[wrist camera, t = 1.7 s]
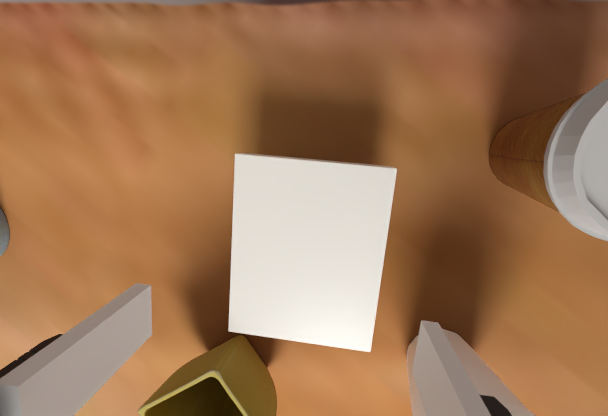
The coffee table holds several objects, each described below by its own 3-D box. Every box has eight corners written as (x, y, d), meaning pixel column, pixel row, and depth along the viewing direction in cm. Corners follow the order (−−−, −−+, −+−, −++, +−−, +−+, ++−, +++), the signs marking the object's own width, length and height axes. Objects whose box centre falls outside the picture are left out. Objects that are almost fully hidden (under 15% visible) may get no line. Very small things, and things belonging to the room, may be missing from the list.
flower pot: (184, 345, 35) (133, 412, 26) (246, 310, 33) (214, 369, 25) (228, 405, 36) (193, 489, 27) (291, 374, 34) (275, 453, 26)
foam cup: (398, 308, 31) (438, 419, 19) (494, 320, 31) (604, 445, 18) (386, 389, 33) (414, 538, 21) (476, 402, 33) (563, 567, 20)
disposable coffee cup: (610, 121, 26) (831, 103, 14) (547, 222, 28) (694, 278, 17) (504, 77, 26) (635, 25, 15) (449, 181, 28) (526, 207, 17)
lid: (391, 166, 25) (397, 168, 22) (367, 333, 28) (370, 352, 26) (244, 152, 26) (235, 153, 24) (237, 315, 29) (228, 331, 27)
